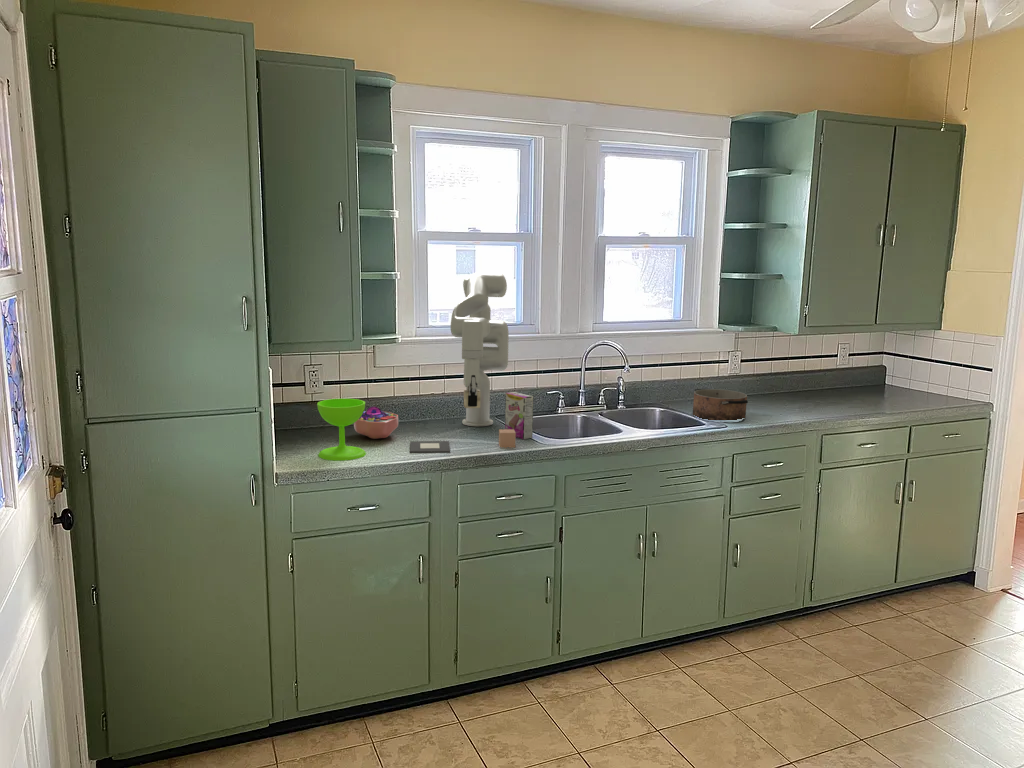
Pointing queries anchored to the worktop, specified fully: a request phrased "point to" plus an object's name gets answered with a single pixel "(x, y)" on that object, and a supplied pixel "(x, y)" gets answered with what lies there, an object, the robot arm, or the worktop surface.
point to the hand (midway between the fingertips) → (471, 404)
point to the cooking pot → (719, 404)
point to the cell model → (376, 423)
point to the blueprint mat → (429, 447)
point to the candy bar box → (519, 414)
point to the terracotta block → (507, 438)
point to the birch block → (466, 393)
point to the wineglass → (341, 426)
